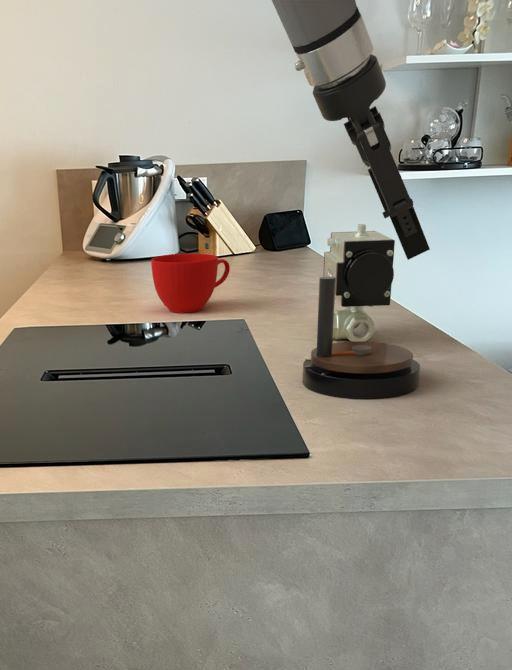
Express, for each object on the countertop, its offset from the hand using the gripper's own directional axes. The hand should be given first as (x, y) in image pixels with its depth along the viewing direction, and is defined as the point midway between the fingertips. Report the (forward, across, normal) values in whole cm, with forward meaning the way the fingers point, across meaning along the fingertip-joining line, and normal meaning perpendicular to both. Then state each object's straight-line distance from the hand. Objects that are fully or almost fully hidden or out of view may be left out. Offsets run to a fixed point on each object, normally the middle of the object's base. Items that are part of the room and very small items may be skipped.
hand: (406, 230), depth 99 cm
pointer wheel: (+11, +7, -11) cm, 17 cm away
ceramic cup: (+18, -45, -40) cm, 63 cm away
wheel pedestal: (+13, +8, -13) cm, 20 cm away
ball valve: (+22, -16, -13) cm, 30 cm away
